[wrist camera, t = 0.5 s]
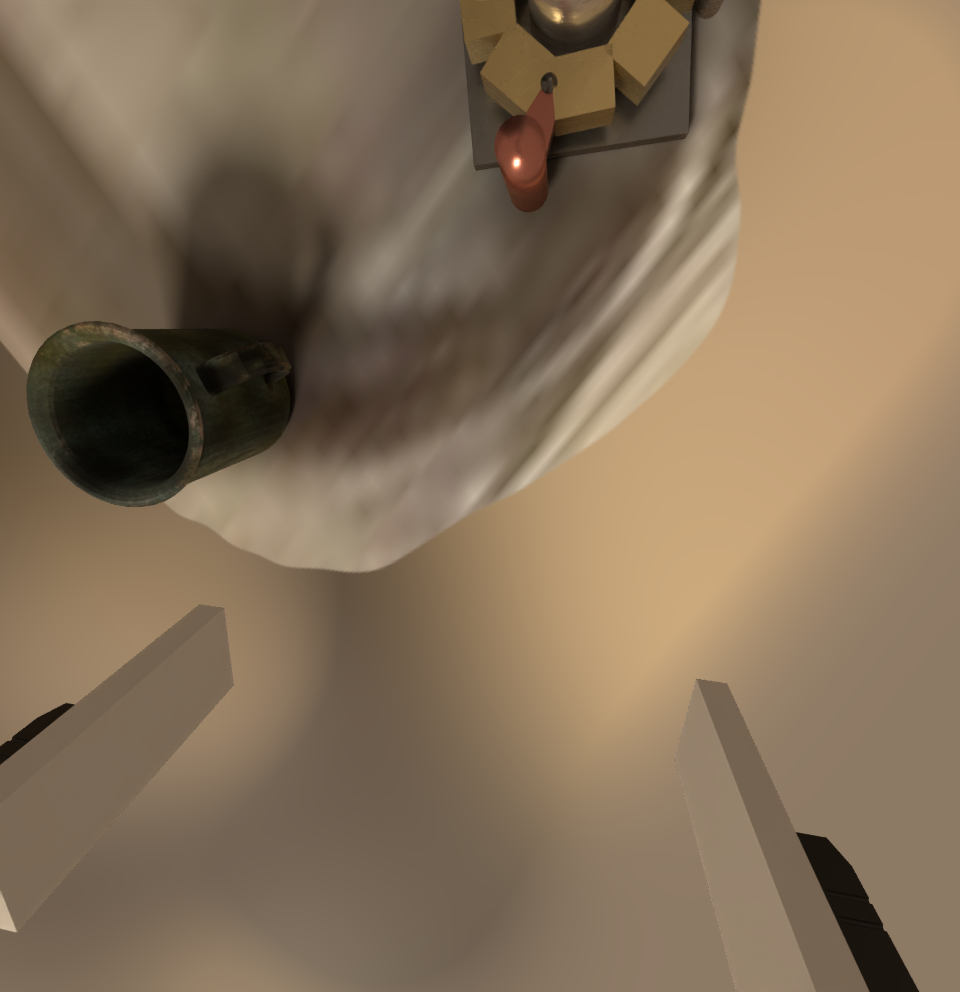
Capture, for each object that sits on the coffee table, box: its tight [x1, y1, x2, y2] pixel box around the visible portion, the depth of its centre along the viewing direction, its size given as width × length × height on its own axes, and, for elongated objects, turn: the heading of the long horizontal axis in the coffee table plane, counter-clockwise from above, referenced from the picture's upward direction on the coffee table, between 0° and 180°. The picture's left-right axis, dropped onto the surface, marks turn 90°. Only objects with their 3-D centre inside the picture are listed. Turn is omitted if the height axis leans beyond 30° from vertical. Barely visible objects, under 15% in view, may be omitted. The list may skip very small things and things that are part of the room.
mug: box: [27, 321, 292, 507], centre depth 35 cm, size 11×15×12 cm
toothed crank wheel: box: [460, 0, 695, 212], centre depth 25 cm, size 16×12×8 cm
